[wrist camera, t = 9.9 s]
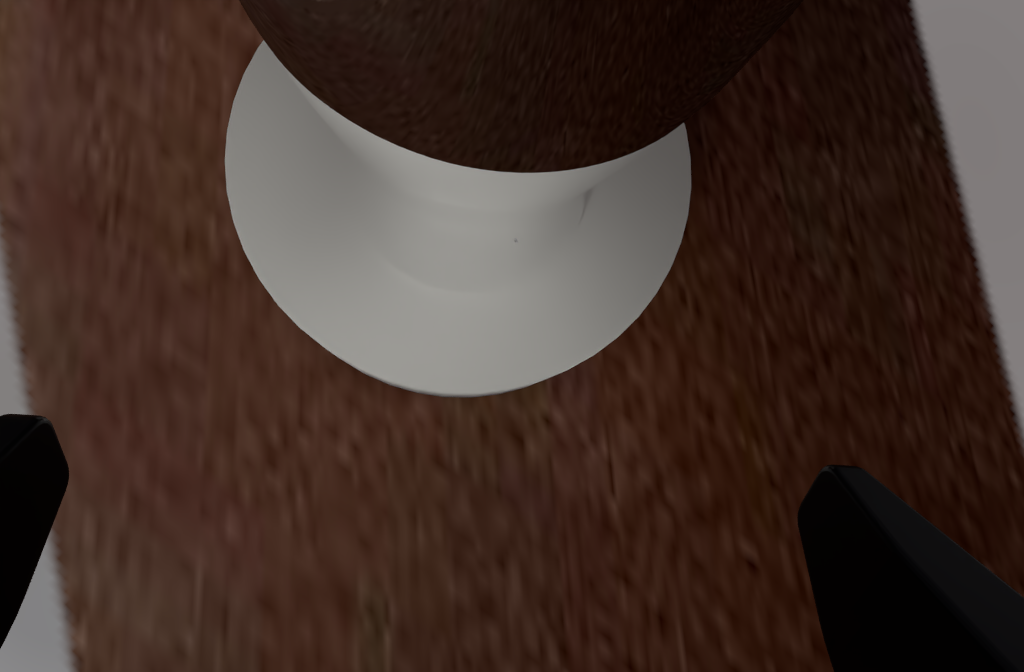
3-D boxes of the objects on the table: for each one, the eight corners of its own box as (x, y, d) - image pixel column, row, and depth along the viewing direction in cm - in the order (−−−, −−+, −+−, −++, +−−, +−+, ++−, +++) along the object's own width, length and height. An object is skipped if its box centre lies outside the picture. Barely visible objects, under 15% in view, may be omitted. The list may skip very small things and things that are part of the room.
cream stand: (322, 452, 19) (300, 457, 16) (208, 63, 20) (170, 0, 17) (708, 328, 21) (753, 312, 18) (584, -24, 22) (608, -94, 19)
